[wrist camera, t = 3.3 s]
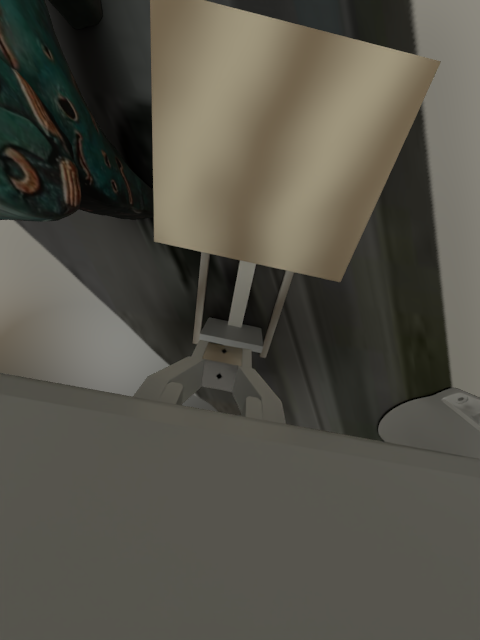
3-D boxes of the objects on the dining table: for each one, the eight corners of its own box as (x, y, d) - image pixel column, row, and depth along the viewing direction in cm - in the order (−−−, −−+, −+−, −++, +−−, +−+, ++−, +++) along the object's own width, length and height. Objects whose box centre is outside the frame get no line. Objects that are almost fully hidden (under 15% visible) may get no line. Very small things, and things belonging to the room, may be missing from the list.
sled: (310, 167, 17) (330, 140, 13) (261, 334, 26) (263, 353, 22) (229, 147, 17) (221, 114, 13) (206, 322, 26) (197, 340, 21)
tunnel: (362, 77, 15) (583, -251, 5) (268, 356, 28) (277, 419, 18) (217, 40, 15) (143, -390, 5) (190, 340, 28) (156, 396, 18)
